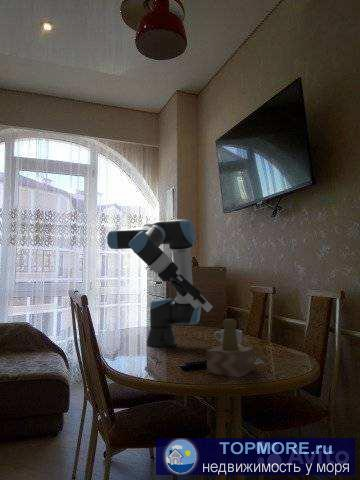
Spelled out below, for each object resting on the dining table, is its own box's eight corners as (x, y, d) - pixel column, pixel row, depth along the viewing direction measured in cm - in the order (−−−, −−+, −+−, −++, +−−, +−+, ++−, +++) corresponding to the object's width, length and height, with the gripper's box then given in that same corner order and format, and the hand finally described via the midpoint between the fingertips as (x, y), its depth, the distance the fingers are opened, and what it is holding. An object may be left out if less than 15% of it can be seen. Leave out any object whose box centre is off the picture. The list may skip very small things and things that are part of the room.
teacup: (241, 344, 187) (241, 328, 187) (243, 349, 176) (242, 332, 177) (214, 344, 188) (214, 328, 189) (214, 348, 177) (213, 331, 178)
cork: (220, 347, 139) (220, 318, 141) (235, 347, 140) (235, 317, 141) (224, 350, 134) (223, 320, 135) (240, 350, 134) (239, 319, 135)
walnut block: (207, 372, 134) (206, 350, 135) (223, 364, 145) (223, 344, 146) (239, 377, 127) (238, 354, 128) (254, 369, 138) (253, 347, 138)
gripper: (150, 274, 144) (187, 312, 146) (164, 274, 120) (208, 319, 123) (163, 261, 146) (199, 298, 148) (180, 258, 122) (223, 302, 124)
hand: (203, 307), depth 135 cm, fingers open, 13 cm apart
